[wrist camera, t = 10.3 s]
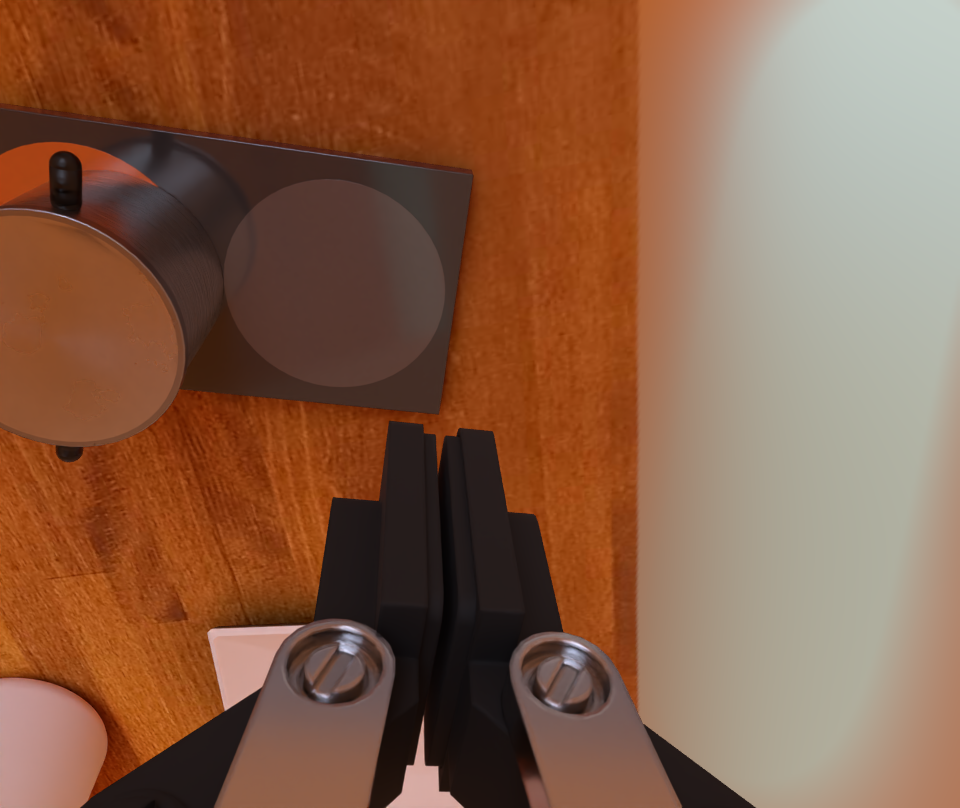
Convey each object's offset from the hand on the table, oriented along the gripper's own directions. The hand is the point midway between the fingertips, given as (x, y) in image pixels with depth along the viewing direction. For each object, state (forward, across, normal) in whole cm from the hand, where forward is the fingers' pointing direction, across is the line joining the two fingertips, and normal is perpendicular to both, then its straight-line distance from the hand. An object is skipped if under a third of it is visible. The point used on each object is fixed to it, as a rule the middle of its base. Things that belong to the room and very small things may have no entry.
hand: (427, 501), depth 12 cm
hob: (+24, +8, +6) cm, 26 cm away
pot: (+23, +12, +6) cm, 27 cm away
